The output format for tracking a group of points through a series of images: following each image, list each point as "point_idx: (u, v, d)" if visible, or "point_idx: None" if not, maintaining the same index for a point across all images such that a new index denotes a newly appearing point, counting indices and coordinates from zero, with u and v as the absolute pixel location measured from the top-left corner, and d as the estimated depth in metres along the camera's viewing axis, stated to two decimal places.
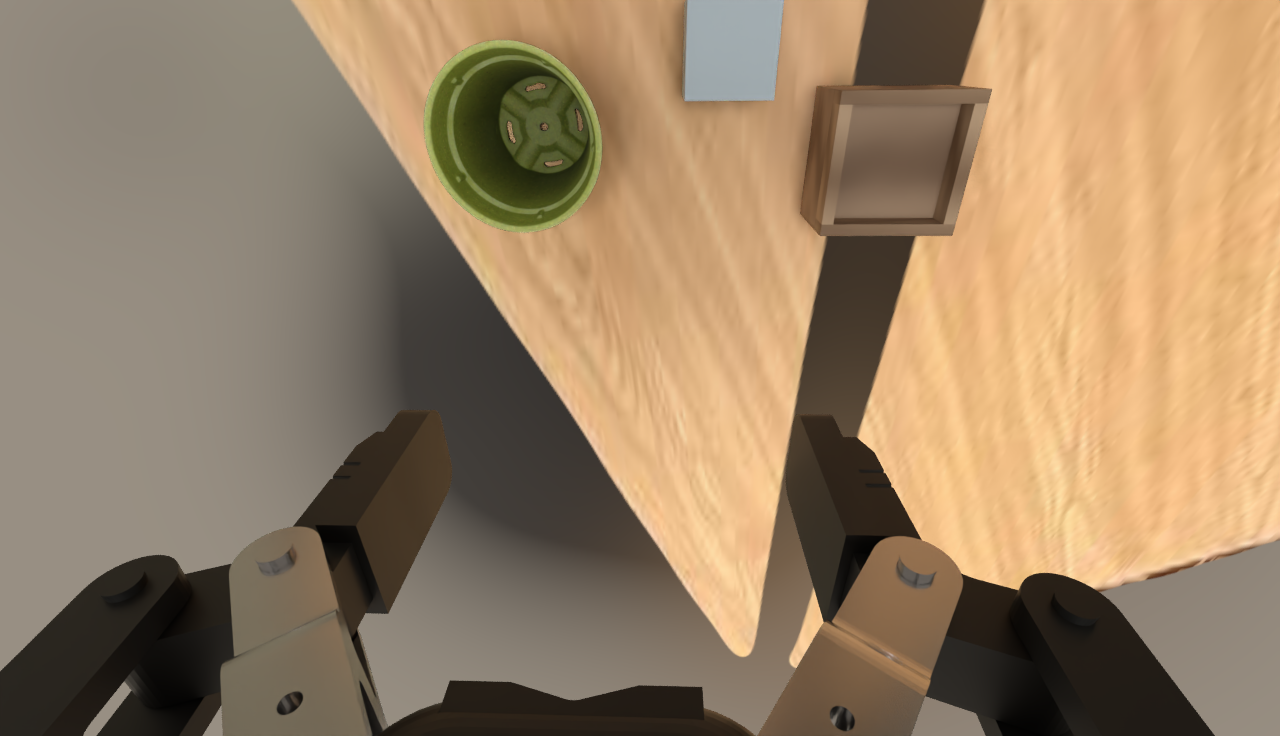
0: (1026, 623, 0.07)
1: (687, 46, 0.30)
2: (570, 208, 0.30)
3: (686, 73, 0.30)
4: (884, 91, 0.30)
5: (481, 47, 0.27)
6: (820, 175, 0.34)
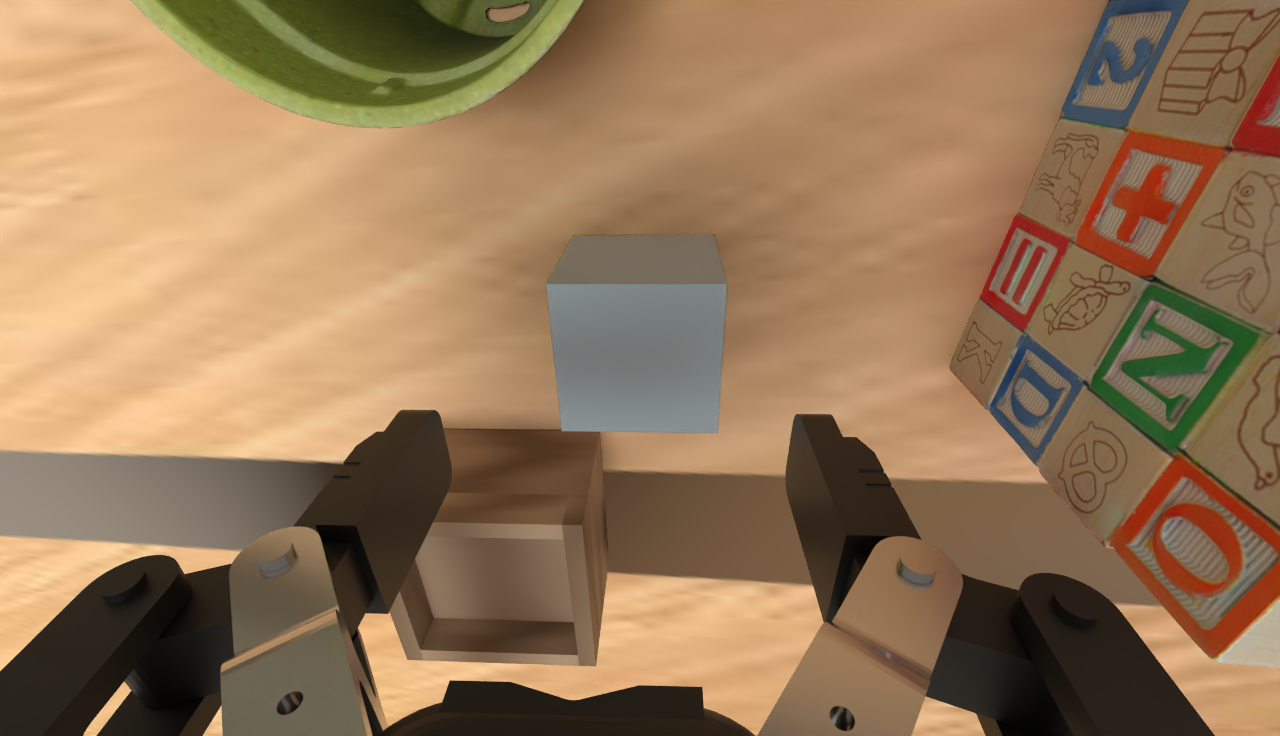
0: (1026, 623, 0.07)
1: (641, 286, 0.15)
2: (163, 7, 0.09)
3: (595, 286, 0.15)
4: (584, 571, 0.20)
5: None
6: (463, 487, 0.21)
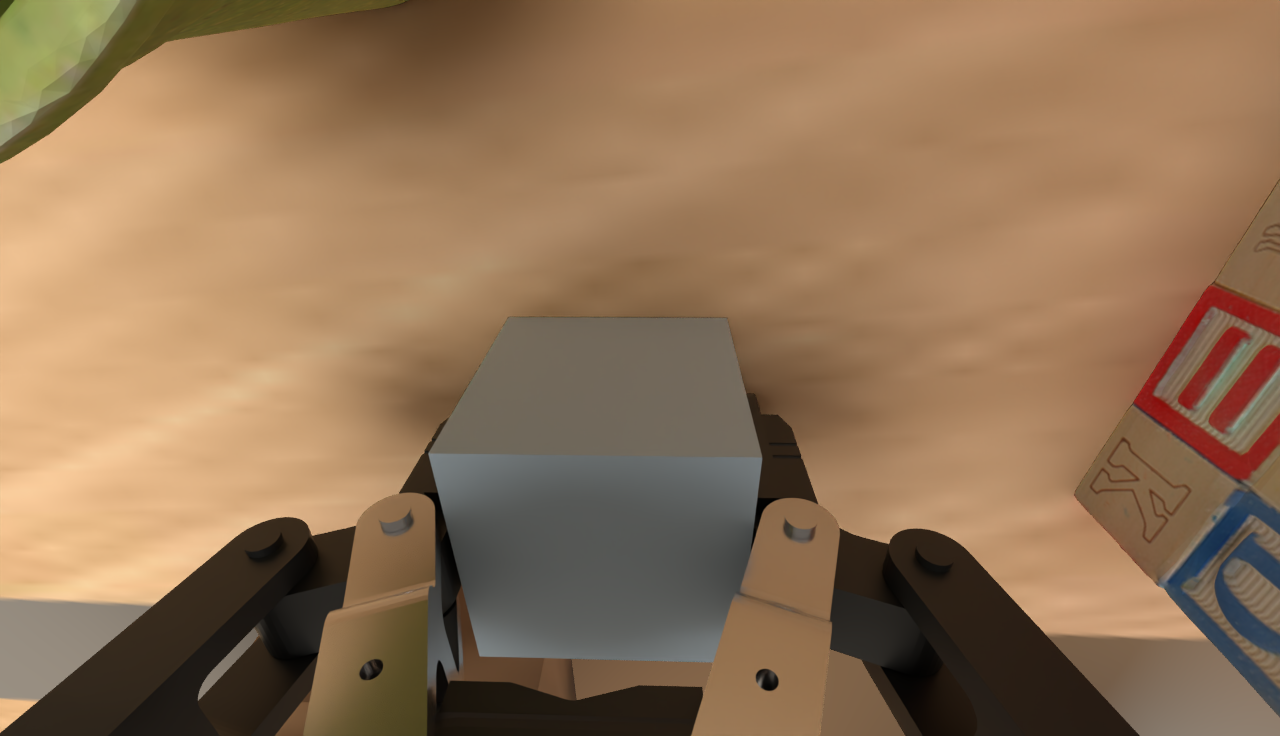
0: (899, 581, 0.08)
1: (604, 459, 0.08)
2: None
3: (519, 457, 0.08)
4: None
5: None
6: None
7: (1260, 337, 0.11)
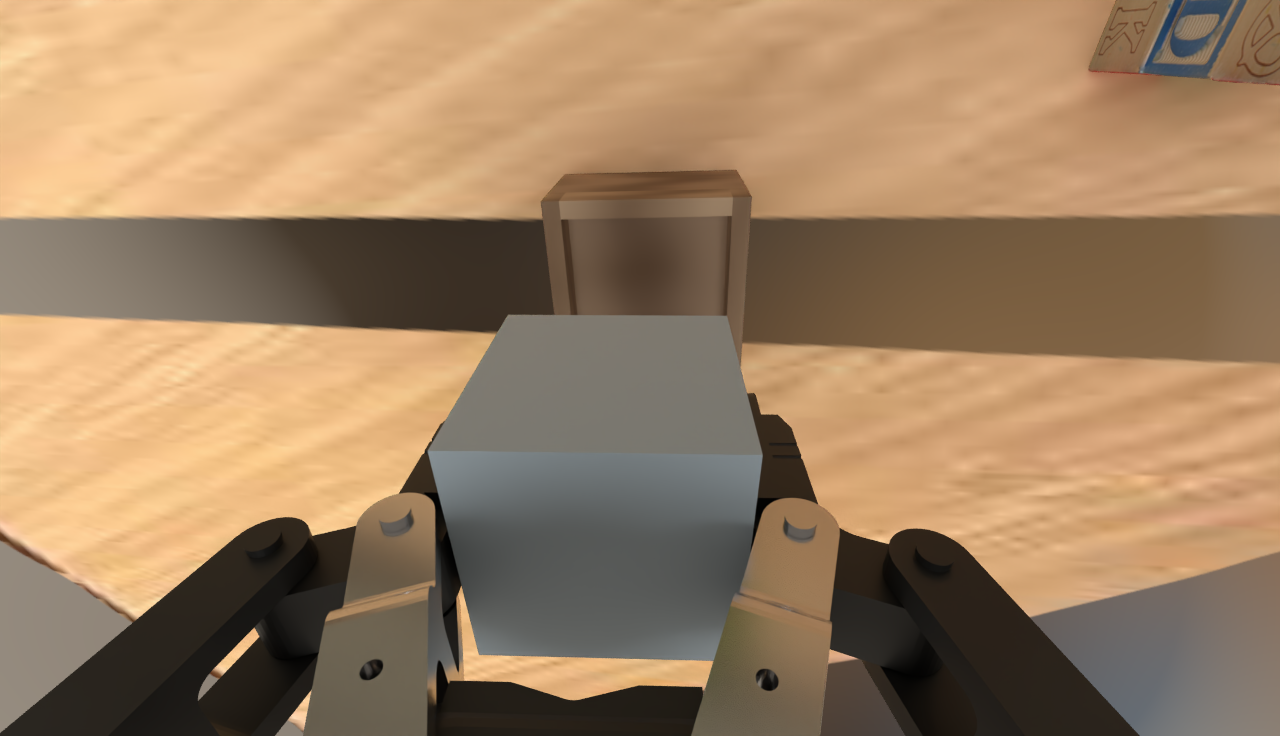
0: (898, 581, 0.08)
1: (604, 457, 0.08)
2: None
3: (519, 454, 0.08)
4: (746, 256, 0.22)
5: None
6: (628, 189, 0.22)
7: None
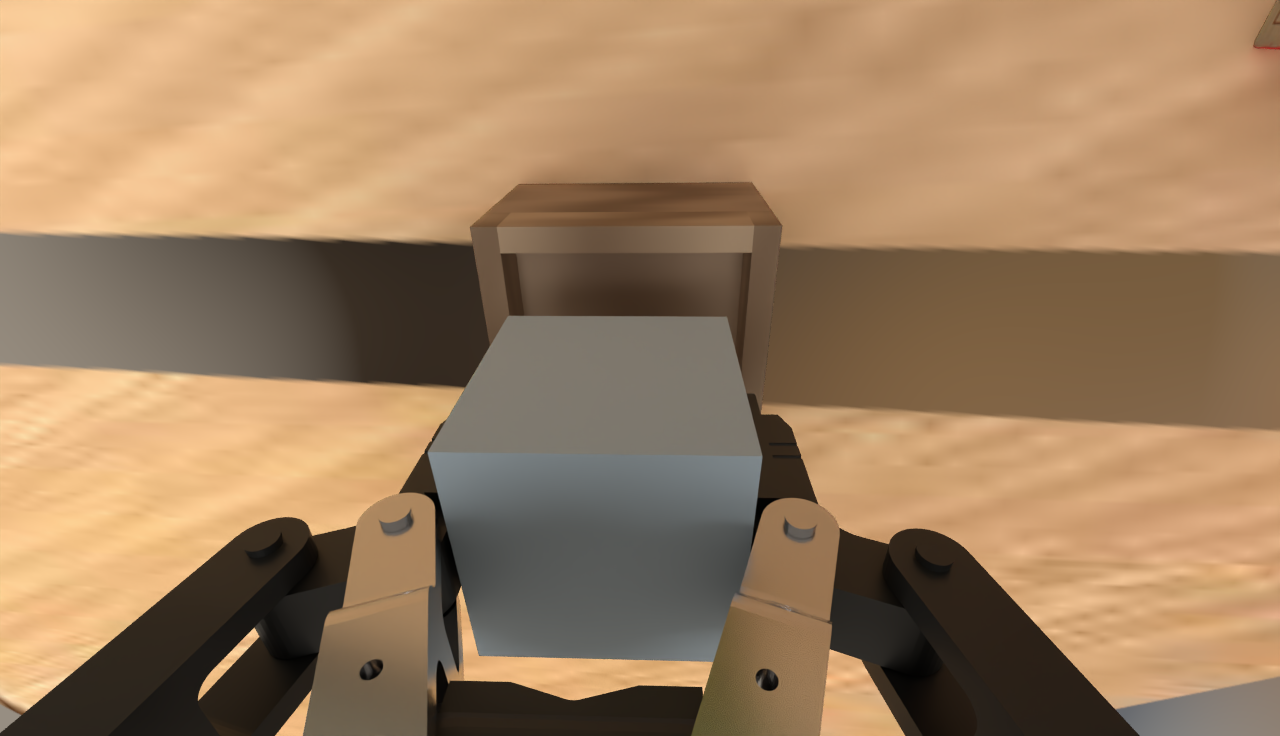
0: (899, 581, 0.08)
1: (604, 458, 0.08)
2: None
3: (518, 456, 0.08)
4: (770, 309, 0.15)
5: None
6: (601, 209, 0.16)
7: None
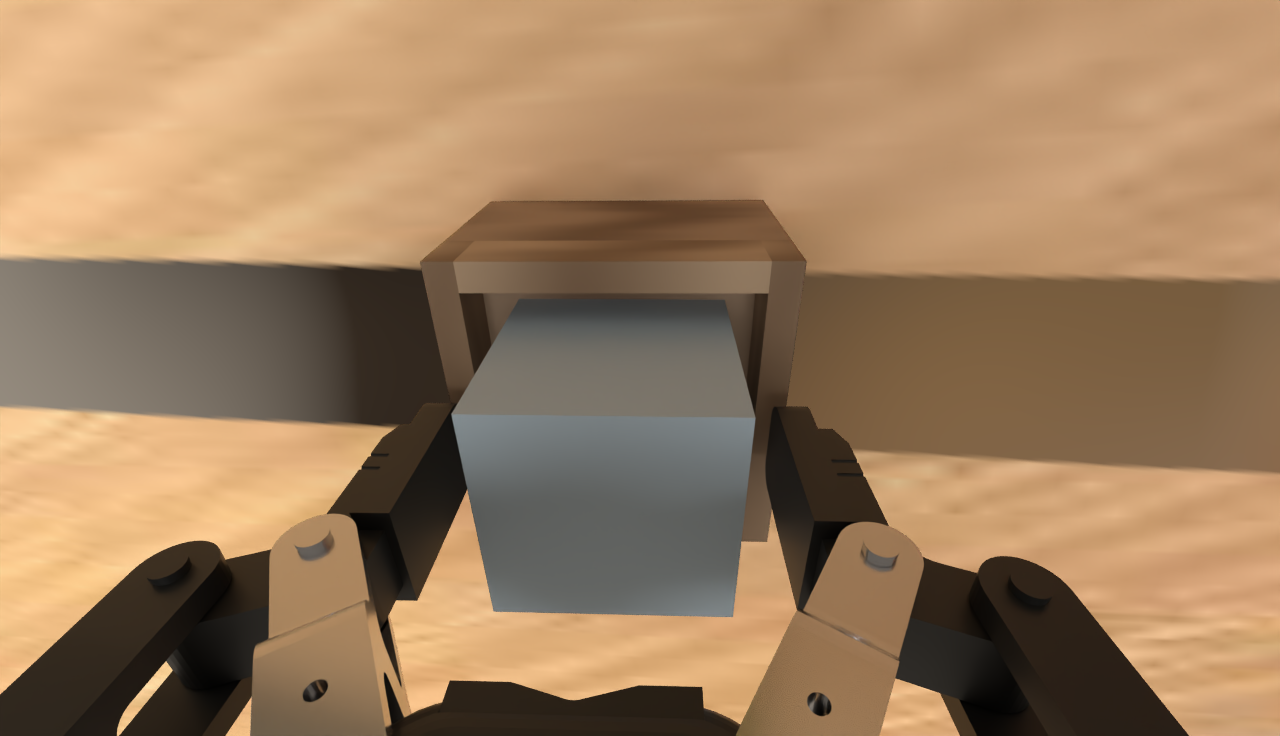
0: (985, 607, 0.08)
1: (612, 420, 0.09)
2: None
3: (534, 417, 0.09)
4: (789, 359, 0.12)
5: None
6: (584, 236, 0.13)
7: None
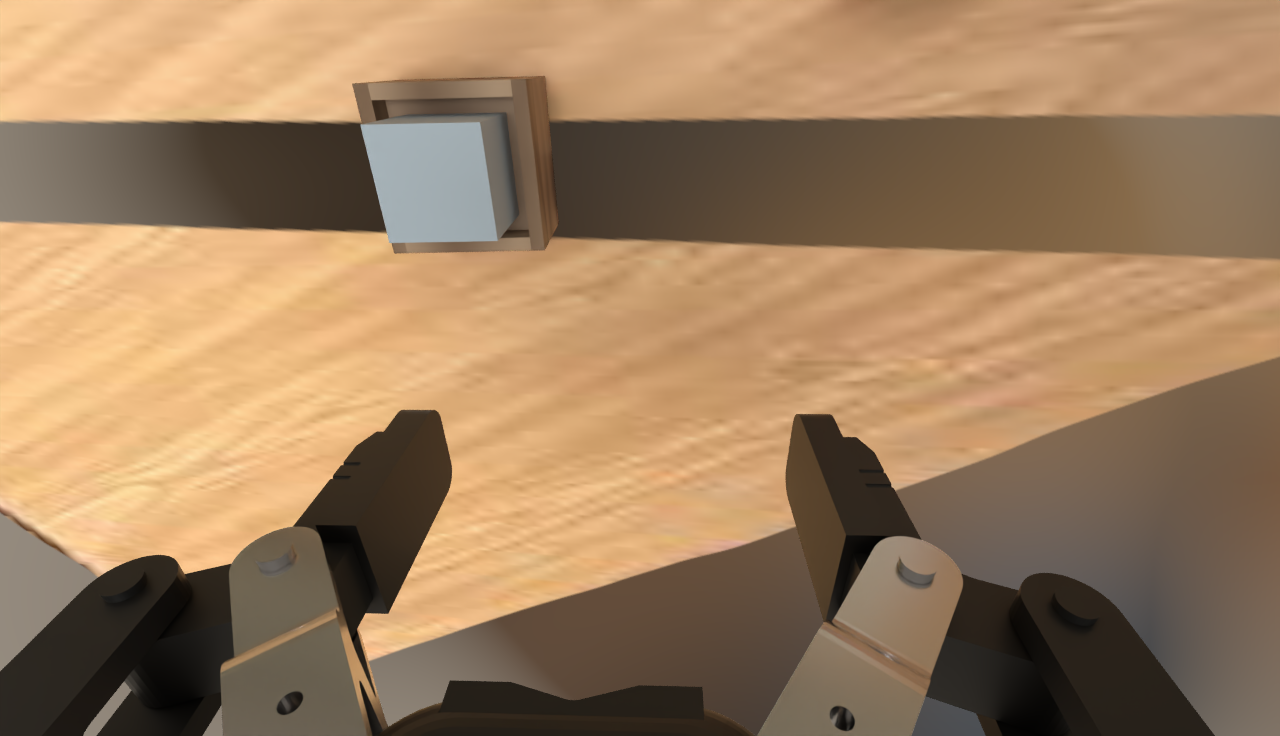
0: (1026, 623, 0.07)
1: (424, 125, 0.23)
2: None
3: (393, 125, 0.23)
4: (530, 133, 0.26)
5: None
6: (435, 80, 0.27)
7: None
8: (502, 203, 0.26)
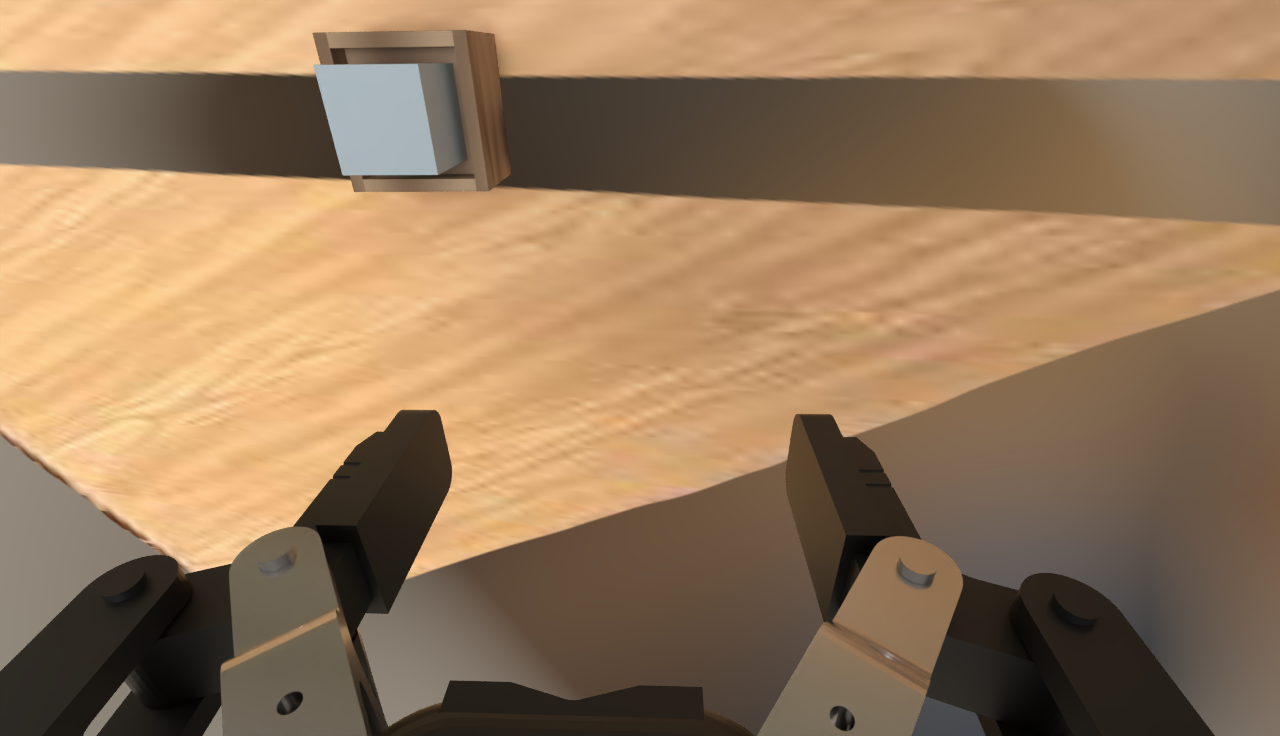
0: (1026, 623, 0.07)
1: (369, 66, 0.26)
2: None
3: (342, 66, 0.26)
4: (471, 80, 0.29)
5: None
6: None
7: None
8: (445, 143, 0.29)
